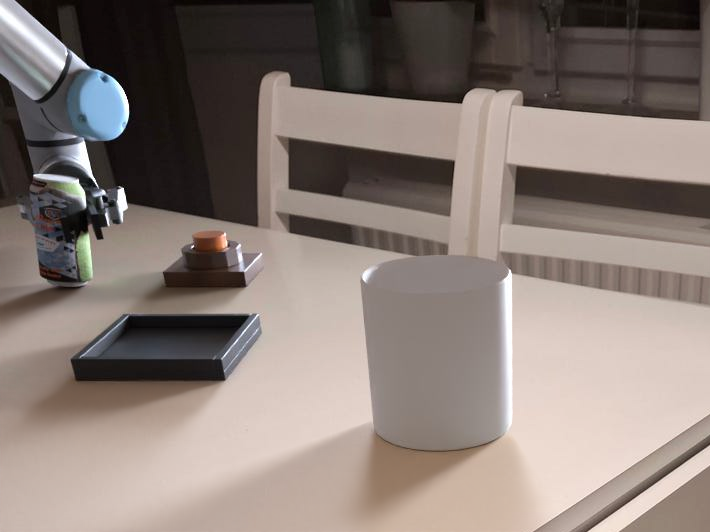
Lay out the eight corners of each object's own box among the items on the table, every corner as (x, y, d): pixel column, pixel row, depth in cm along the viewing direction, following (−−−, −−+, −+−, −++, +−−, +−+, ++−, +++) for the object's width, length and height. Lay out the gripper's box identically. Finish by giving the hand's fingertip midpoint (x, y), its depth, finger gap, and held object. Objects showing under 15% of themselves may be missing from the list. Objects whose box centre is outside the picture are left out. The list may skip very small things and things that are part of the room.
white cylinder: (409, 393, 91) (399, 250, 84) (530, 407, 87) (532, 259, 80) (349, 441, 82) (333, 287, 75) (482, 459, 79) (478, 299, 72)
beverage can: (36, 285, 124) (5, 175, 116) (94, 274, 127) (68, 167, 120) (54, 295, 120) (23, 182, 112) (113, 283, 123) (87, 173, 116)
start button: (190, 254, 121) (187, 238, 120) (200, 246, 125) (197, 230, 123) (222, 253, 121) (220, 238, 120) (231, 245, 124) (229, 230, 123)
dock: (75, 380, 96) (69, 359, 95) (127, 333, 107) (123, 313, 106) (225, 380, 95) (221, 359, 94) (262, 332, 106) (259, 313, 105)
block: (165, 287, 122) (159, 255, 119) (187, 267, 129) (181, 238, 126) (246, 286, 121) (241, 255, 119) (264, 267, 128) (259, 237, 126)
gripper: (137, 217, 138) (158, 255, 120) (15, 230, 133) (19, 271, 116) (123, 155, 133) (144, 185, 116) (-3, 166, 129) (-2, 199, 111)
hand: (81, 228), depth 116 cm, fingers closed on beverage can, 3 cm apart
